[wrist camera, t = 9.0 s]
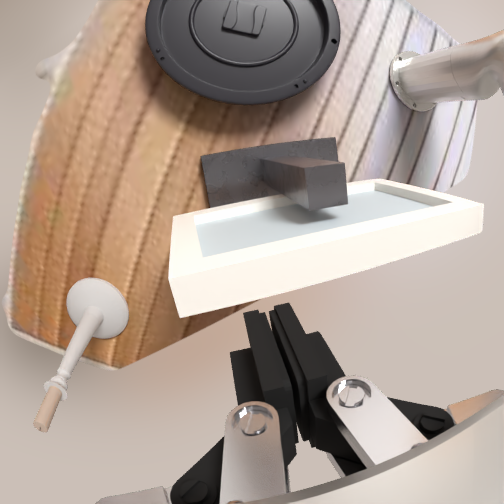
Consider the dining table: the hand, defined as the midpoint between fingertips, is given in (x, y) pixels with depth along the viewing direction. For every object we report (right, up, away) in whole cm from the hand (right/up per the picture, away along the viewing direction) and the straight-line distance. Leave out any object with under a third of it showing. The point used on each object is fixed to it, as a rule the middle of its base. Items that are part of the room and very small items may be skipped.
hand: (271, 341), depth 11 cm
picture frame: (+4, +10, +30) cm, 32 cm away
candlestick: (-30, -7, +41) cm, 51 cm away
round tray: (-2, +40, +29) cm, 50 cm away
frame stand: (+3, +16, +38) cm, 41 cm away
